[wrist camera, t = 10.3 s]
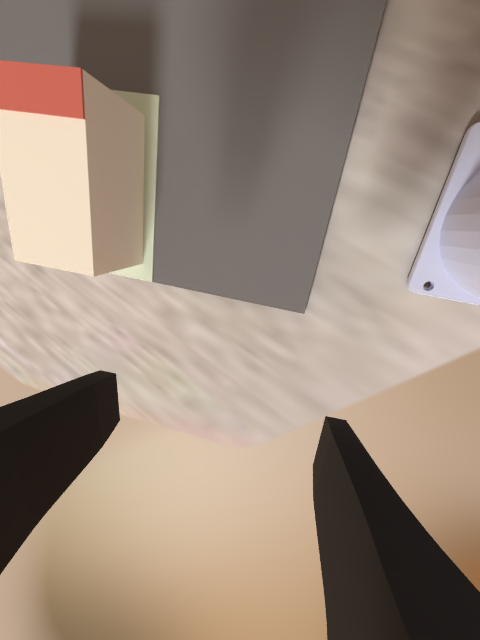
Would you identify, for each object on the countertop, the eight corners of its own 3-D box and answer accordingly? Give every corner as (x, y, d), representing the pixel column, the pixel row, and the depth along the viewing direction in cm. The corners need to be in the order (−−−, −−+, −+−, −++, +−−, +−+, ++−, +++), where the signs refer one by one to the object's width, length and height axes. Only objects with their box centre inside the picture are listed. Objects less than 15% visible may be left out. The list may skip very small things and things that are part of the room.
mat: (389, -17, 11) (394, -30, 11) (304, 311, 17) (304, 314, 16) (-11, -39, 14) (-24, -50, 13) (28, 253, 19) (20, 254, 19)
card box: (142, 263, 17) (92, 276, 13) (80, 251, 18) (12, 260, 13) (144, 114, 14) (80, 67, 10) (70, 106, 15) (-21, 58, 10)
